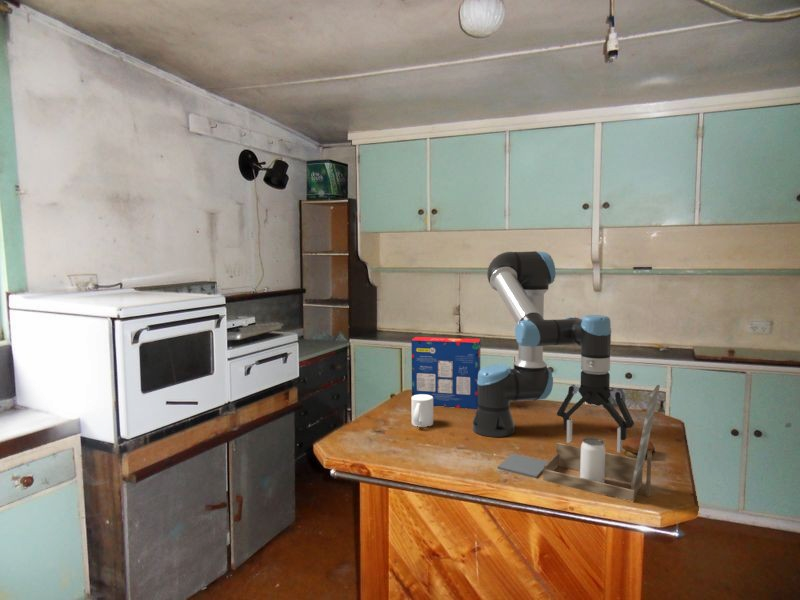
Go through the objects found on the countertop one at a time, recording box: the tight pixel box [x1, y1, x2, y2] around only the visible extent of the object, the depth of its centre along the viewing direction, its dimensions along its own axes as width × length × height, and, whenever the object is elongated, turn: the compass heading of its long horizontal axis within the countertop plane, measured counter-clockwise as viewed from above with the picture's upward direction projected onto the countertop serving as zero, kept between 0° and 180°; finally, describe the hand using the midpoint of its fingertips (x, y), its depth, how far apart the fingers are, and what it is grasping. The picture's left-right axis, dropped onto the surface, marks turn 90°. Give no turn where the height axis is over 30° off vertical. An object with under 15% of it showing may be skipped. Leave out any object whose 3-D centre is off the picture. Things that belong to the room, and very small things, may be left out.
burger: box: [620, 437, 656, 459], centre depth 167 cm, size 10×9×5 cm
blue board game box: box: [411, 336, 482, 410], centre depth 220 cm, size 28×8×28 cm, turn 76°
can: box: [579, 437, 606, 483], centre depth 147 cm, size 6×6×12 cm
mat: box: [497, 453, 549, 479], centre depth 159 cm, size 12×12×1 cm
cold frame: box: [542, 384, 661, 502], centre depth 145 cm, size 28×12×29 cm, turn 55°
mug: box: [410, 394, 434, 428], centre depth 196 cm, size 8×10×12 cm
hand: (593, 446), depth 146 cm, fingers open, 13 cm apart
